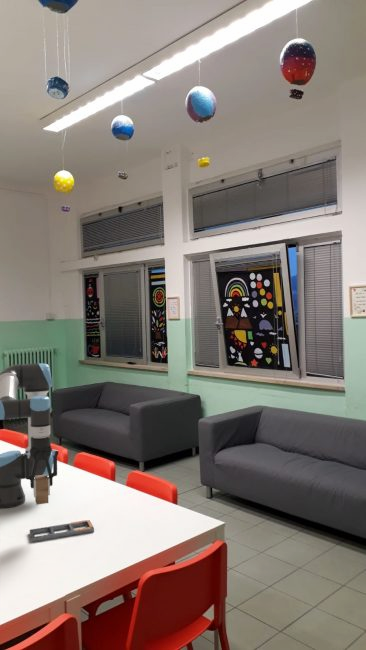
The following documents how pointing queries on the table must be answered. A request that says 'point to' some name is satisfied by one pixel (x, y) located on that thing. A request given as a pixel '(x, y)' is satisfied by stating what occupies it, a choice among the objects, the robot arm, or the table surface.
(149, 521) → the table surface
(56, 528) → the rack
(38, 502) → the walnut block
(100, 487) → the table surface
